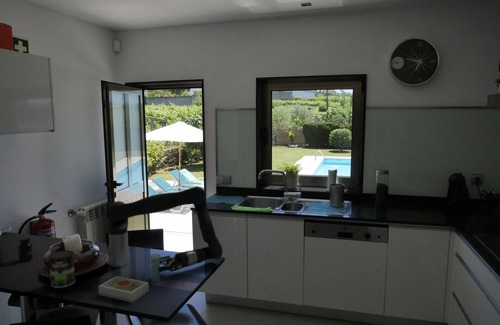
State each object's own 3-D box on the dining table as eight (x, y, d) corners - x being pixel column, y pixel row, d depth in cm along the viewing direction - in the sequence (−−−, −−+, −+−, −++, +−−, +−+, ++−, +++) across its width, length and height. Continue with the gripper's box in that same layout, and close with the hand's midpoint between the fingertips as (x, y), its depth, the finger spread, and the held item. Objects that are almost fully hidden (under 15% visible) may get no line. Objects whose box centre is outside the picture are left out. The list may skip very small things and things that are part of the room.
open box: (98, 294, 156) (98, 284, 156) (116, 284, 166) (116, 274, 166) (132, 302, 149) (131, 292, 149) (148, 291, 160) (148, 281, 159)
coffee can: (73, 286, 164) (71, 256, 162) (48, 289, 161) (46, 259, 159) (77, 277, 174) (75, 249, 172) (53, 279, 171) (52, 251, 169)
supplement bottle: (32, 261, 193) (30, 240, 192) (17, 263, 191) (15, 241, 190) (34, 257, 200) (33, 236, 199) (20, 258, 197) (18, 237, 196)
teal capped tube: (148, 281, 169) (147, 256, 168) (154, 277, 174) (154, 253, 173) (156, 283, 168) (156, 258, 166) (163, 278, 172) (162, 254, 171)
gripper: (179, 248, 185) (149, 255, 175) (192, 256, 174) (161, 264, 164) (179, 262, 186) (149, 269, 176) (193, 270, 175) (161, 279, 165)
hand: (155, 267), depth 170 cm, fingers open, 8 cm apart
